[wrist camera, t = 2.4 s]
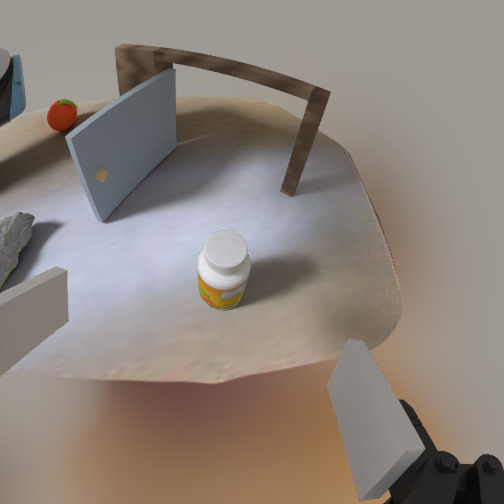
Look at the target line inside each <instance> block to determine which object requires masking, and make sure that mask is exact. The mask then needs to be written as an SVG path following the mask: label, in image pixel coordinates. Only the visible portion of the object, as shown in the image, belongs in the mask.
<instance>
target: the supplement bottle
mask: <svg viewBox="0 0 504 504" xmlns="http://www.w3.org/2000/svg"><path fill="white" fill-rule="evenodd" d="M247 252H248V249H247V244H246V242H245V240H244V239H243V238H242V237H241V236H240V235H238V234H237V233H235V232H232V231H219V232H216V233H214V234H212V235H211V236H210V237H209V238H208V239H207V241H206V243H205V247H204V249H203V250H202V251H201V253H200V255H199V258H198V266H197V267H198V285H199V294H200V297H201V299H202V301H203V302H204V303H205V304H206V305H207V306H208V307H210V308H212V309H215V310H228V309H231V308H233V307H235V306H236V305H237V304H238V303H239V302H240V300H241V299H242V297H243V294H244V290H245V287H246V284H247V280H248V277H249V273H250V268H251V262H250V258H249V255H248V253H247Z"/></svg>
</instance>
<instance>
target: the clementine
mask: <svg viewBox="0 0 504 504" xmlns="http://www.w3.org/2000/svg"><path fill="white" fill-rule="evenodd" d="M76 107H77V106H76V105H75V104H74V103H73V102H71V101H70V100H64V99H62V100H59V101H57V102H55V103H54V104H53V105H52V106H51V107H50V109H49V111H48V115H47V120H48V124H49V126H50V127H51V128H52V129H54V130H56V131H63V130H66V129H68V128H69V127H70V126H71V125H72V124H73V123H74V121H75V119H76V116H77V109H76ZM77 108H78V107H77Z"/></svg>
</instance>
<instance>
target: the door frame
mask: <svg viewBox="0 0 504 504" xmlns="http://www.w3.org/2000/svg"><path fill="white" fill-rule="evenodd" d="M115 57H116V67H117V76H118V84H119V92H120V96H122V95H123V94H125V93H126V92H128V91H130V90H131V89H133V88H135V87H136V86H138V85H140V84H141V83H143V82H145V81H146V80H148V79H150V78H152V77H153V76H155V75H157V74H159V73H161V72H163V71H164V70H166V69H168V68H171V69H173V63H176V64H181V65H187V66H192V67H197V68H201V69H206V70H210V71H214V72H219V73H222V74H226V75H230V76H234V77H238V78H241V79H245V80H248V81H252V82H255V83H258V84H261V85H264V86H268V87H271V88H274V89H277V90H280V91H283V92H285V93H288V94H291V95H294V96H296V97H299V98H302V99H305V100H307V101H308V104H307V107H306V110H305V114H304V117H303V120H302V123H301V127H300V130H299V133H298V136H297V139H296V143H295V146H294V149H293V152H292V156H291V159H290V162H289V165H288V168H287V172H286V175H285V178H284V181H283V184H282V188H281V192H283V193H285V194H287V195H289V196H293V194H294V192H295V190H296V188H297V185H298V182H299V180H300V177H301V174H302V172H303V169H304V166H305V163H306V161H307V158H308V155H309V152H310V150H311V147H312V144H313V141H314V139H315V136H316V133H317V130H318V127H319V125H320V122H321V119H322V116H323V113H324V110H325V108H326V105H327V102H328V99H329V96H330V93H331V92H330V91H327V90H325V89H322V88H320V87H317V86H314V85H312V84H309V83H306V82H304V81H301V80H298V79H295V78H292V77H289V76H286V75H283V74H280V73H277V72H273V71H271V70H267V69H263V68H260V67H257V66H253V65H249V64H245V63H242V62H238V61H234V60H230V59H225V58H220V57H216V56H211V55H206V54H201V53H196V52H190V51H184V50H177V49H170V48H163V47H154V46H144V45H132V44H122V45H120V46H118V47H115Z"/></svg>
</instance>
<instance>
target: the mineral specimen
mask: <svg viewBox="0 0 504 504" xmlns="http://www.w3.org/2000/svg"><path fill="white" fill-rule="evenodd" d="M34 220H35V217H34V216H33V215H31V214H29V213H28V214H23V213H21V212H18V213H16V214H15V215H13V216H10V217H7V218H4V219H3V220H1V221H0V290H1V287H2V285H3V284H4V282H5V281H6V279H7V277H8V275H9V273H10V272H11V271H12V270H13V269H14V268H16V266H17V264H18V262H19V261H18V256H19V255H18V254H19V253H20V252H21V249H22V248H23V247H24V246H26V245H27V242H28V240H29V239H30V237H31V235H32V231H31V228H32V224H33V221H34Z"/></svg>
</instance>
